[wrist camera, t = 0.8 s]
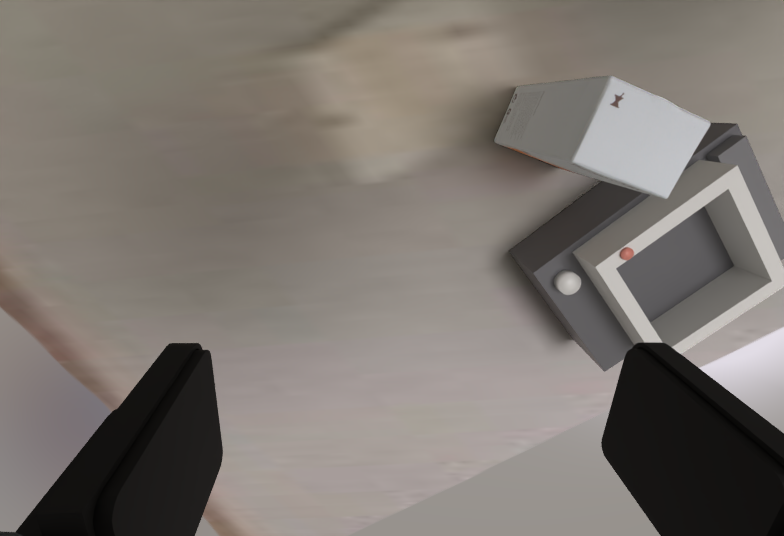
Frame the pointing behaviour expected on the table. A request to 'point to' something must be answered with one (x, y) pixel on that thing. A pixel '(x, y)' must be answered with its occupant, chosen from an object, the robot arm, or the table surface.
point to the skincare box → (604, 132)
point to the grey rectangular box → (662, 254)
